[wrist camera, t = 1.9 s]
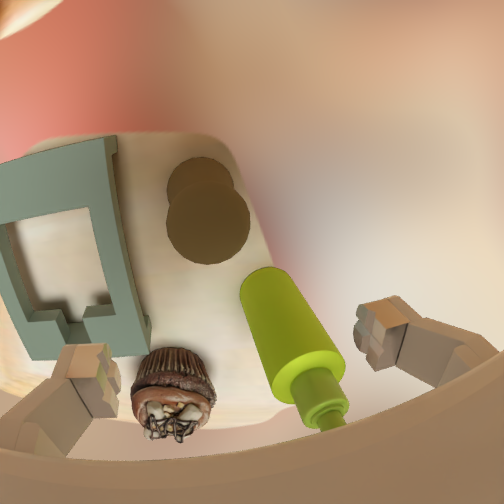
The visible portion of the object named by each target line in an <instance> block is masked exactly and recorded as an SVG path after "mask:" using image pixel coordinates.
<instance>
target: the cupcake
mask: <svg viewBox="0 0 504 504" xmlns="http://www.w3.org/2000/svg"><path fill="white" fill-rule="evenodd" d="M130 396H131V401H132V410H133V413H134V416H135V418H136V419H137V420H138V421H139V422H140V424H141V425H142V426H143V427H144V436H145V437H146V439H149V440H154V439H159V438H166V437H167V436H174V437H175V440H176V441H177V442H179V443H183V440H184V439H185V438H187V437H189V436H190V435H191V434H192V433H193V431H195V430H197V429H199V428H200V427H202V426H204V425H205V424H206V423H207V422H208V419H209V415H210V412H211V408H213V407H214V406H213V405H215V404H216V403H215V401H217V399H216V397H217V396H216V393H215V389H214V387H213V385H212V383H211V381H210V379H209V377H208V374H207V372H206V369H205V367H204V364H203V362H202V360H201V359H200V358H199V357H198V355H196V354H194V353H192V352H191V351H190V350H185V349H184V348H178V349H176V348H161V349H157V350H155V351H152V352H151V353H150V354H149V355H147V356H146V358H145V359H144V360H143V361H142V363H141V365H140V368H139V371H138V373H137V376H136V380H135V382H134V383H133V385H132V387H131V394H130Z"/></svg>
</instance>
